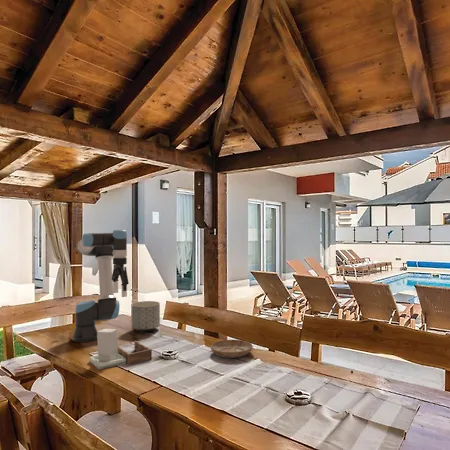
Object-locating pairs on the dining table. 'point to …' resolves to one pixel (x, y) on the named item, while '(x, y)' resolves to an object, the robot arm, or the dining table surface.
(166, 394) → the dining table surface
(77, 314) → the robot arm
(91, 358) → the tray
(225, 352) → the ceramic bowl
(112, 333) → the skincare box
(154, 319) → the planter
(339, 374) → the dining table surface
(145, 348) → the box
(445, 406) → the dining table surface
